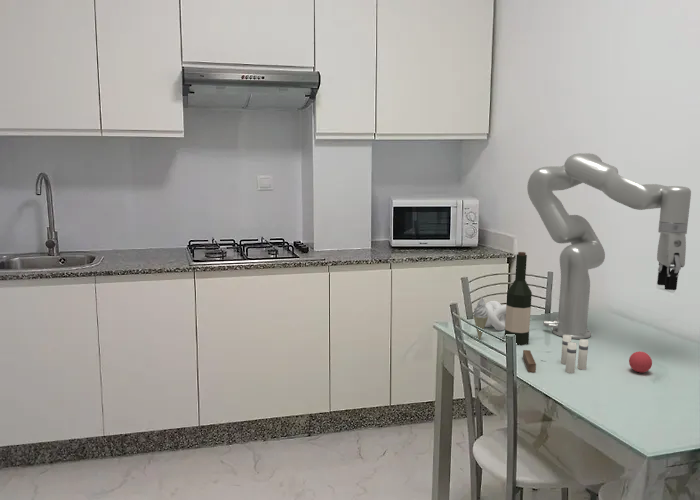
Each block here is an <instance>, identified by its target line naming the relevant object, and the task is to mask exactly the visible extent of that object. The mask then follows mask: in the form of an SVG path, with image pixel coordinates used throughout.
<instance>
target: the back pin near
mask: <svg viewBox="0 0 700 500" xmlns="http://www.w3.org/2000/svg"><path fill="white" fill-rule="evenodd" d="M576 357H577V343H576V342H573V341H571V342H568V347H567V360H566V365H565V373H567V374H575V371H576V370H575V369H576Z"/></svg>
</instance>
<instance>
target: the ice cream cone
mask: <svg viewBox="0 0 700 500" xmlns="http://www.w3.org/2000/svg"><path fill="white" fill-rule="evenodd" d="M476 305H477V306H476V307H475V308H474V311H473V321H474V323H475V327H476V326H478V327H480V328H482V329H484V330H485V328H486V327H485V325H486V322H487V319H488V317H489V316H488V313H489V312H488V309H487V308H486V306H485V305H486V303H485V300H484V298H483V295H481V297H480V299H479V301H478V302H477V304H476ZM476 332H477V333H476V334H477V337H478V339H479V340H481V338H482V336H483V333H484V331H483V332H481V331H479V330H478V329H477V328H476Z"/></svg>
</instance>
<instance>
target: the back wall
mask: <svg viewBox="0 0 700 500" xmlns="http://www.w3.org/2000/svg"><path fill="white" fill-rule="evenodd" d="M522 352H523V353H522V359H523V362H524V364H525V367H526V370H527V372H528V373H536V370H537V369H536V368H537V363H536V361H535V359H534V357H533V354H532V352H531V350H527V349H523V350H522Z"/></svg>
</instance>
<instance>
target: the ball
mask: <svg viewBox="0 0 700 500" xmlns="http://www.w3.org/2000/svg"><path fill="white" fill-rule="evenodd" d="M652 359H653V358H651V356H650V355H649V353H647V352H644V351H635V352H633V353H632V354H631V355H630V356H629V359H628V365H629V366H630V368H631V369H632V370H633V371H635V372H637V373H640V374H641V373H646V372H649V371H650V370H651V368H652V366H653V360H652Z"/></svg>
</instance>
